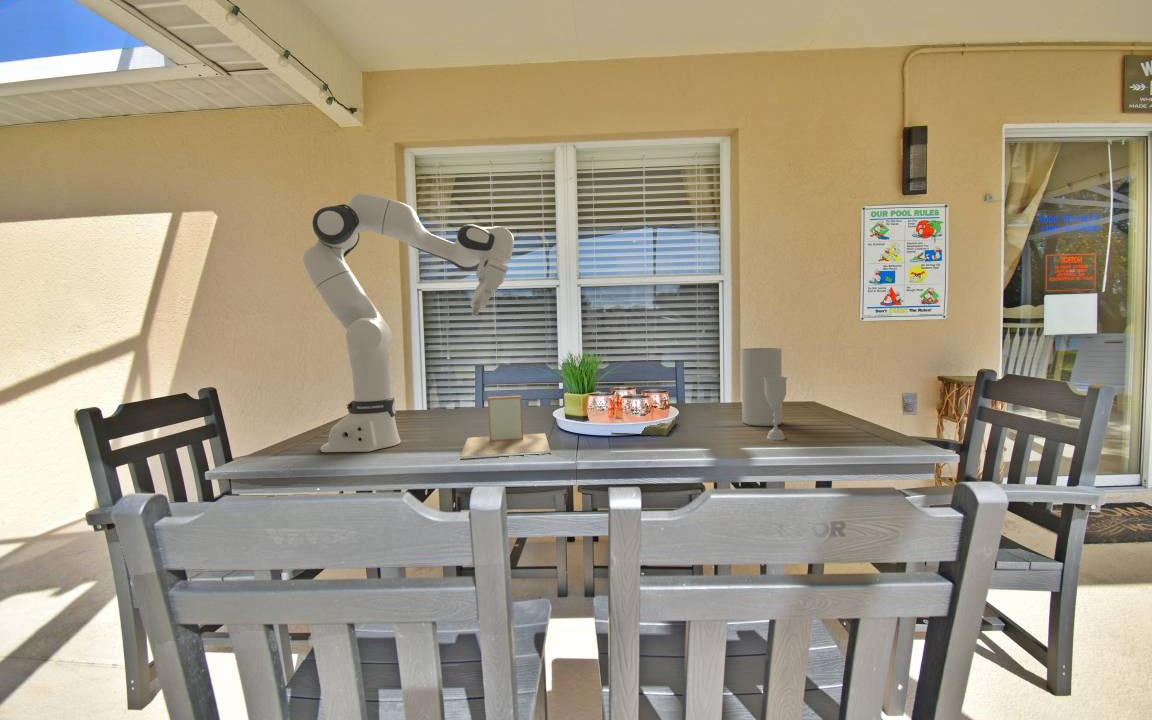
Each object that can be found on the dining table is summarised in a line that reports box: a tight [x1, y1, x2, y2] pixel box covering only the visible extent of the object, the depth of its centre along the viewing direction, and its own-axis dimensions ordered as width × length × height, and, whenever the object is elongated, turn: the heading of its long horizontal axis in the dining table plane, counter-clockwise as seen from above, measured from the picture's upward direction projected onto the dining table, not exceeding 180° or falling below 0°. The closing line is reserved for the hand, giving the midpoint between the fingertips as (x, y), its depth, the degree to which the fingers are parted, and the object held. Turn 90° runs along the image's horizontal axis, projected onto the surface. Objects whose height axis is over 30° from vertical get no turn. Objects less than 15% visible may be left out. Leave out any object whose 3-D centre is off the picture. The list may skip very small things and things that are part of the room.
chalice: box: [763, 375, 789, 441], centre depth 147 cm, size 7×7×18 cm
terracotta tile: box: [487, 394, 524, 442], centre depth 153 cm, size 10×3×13 cm, turn 97°
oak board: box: [459, 433, 551, 461], centre depth 147 cm, size 24×24×1 cm
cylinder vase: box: [741, 347, 783, 427], centre depth 169 cm, size 12×12×25 cm
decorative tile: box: [640, 417, 676, 437], centre depth 168 cm, size 19×20×4 cm
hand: (478, 311), depth 156 cm, fingers open, 8 cm apart
